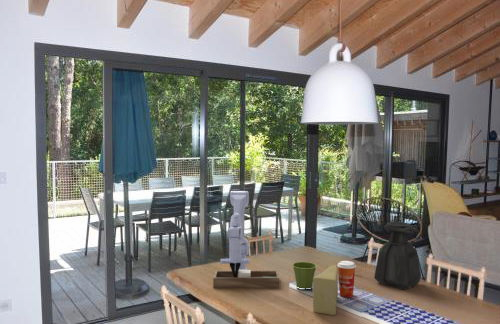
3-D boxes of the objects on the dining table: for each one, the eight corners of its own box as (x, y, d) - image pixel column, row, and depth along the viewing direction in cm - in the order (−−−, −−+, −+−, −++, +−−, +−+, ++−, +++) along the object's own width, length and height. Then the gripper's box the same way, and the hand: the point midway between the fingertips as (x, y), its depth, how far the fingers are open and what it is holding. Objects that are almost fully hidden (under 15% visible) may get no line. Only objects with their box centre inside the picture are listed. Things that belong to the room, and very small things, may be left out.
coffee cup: (334, 296, 193) (335, 264, 193) (340, 291, 201) (340, 259, 200) (353, 299, 189) (353, 266, 189) (357, 294, 197) (358, 261, 196)
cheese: (324, 294, 196) (325, 262, 195) (346, 297, 192) (346, 265, 191) (312, 312, 176) (312, 276, 175) (335, 316, 172) (335, 279, 171)
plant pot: (316, 293, 198) (316, 269, 198) (290, 291, 200) (290, 267, 200) (317, 284, 210) (317, 262, 209) (293, 283, 212) (293, 260, 212)
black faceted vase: (372, 283, 212) (373, 223, 210) (388, 276, 223) (389, 219, 222) (407, 292, 199) (408, 228, 198) (422, 284, 211) (423, 223, 209)
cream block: (238, 277, 215) (238, 269, 215) (250, 277, 215) (250, 269, 215) (238, 281, 209) (238, 273, 209) (250, 281, 209) (250, 273, 209)
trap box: (215, 279, 218) (215, 270, 218) (277, 279, 218) (277, 270, 218) (213, 287, 206) (213, 278, 206) (279, 287, 206) (279, 278, 206)
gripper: (219, 252, 207) (220, 280, 208) (249, 252, 207) (249, 280, 208) (221, 249, 215) (221, 275, 215) (249, 249, 214) (249, 275, 215)
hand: (235, 277), depth 212 cm, fingers closed
